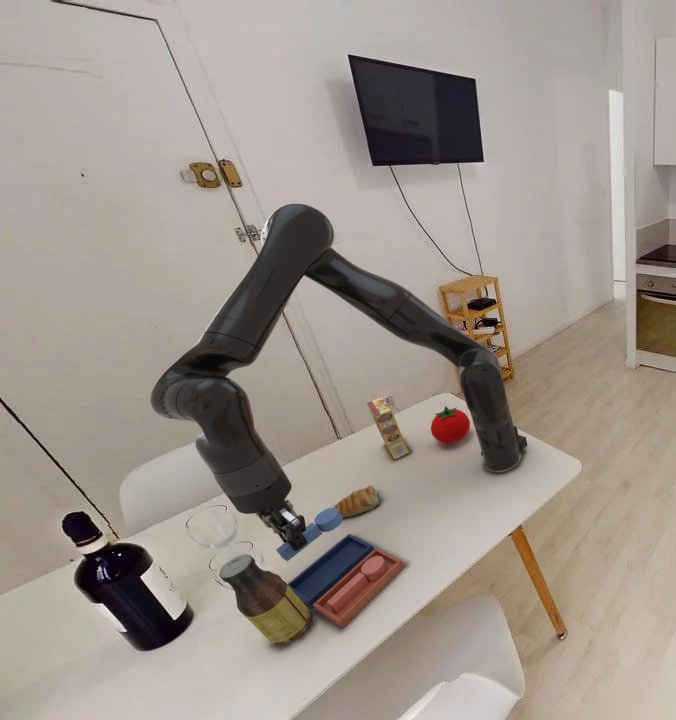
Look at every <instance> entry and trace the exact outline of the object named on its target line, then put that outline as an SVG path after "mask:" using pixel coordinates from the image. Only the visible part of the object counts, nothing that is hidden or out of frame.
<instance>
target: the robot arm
mask: <svg viewBox="0 0 676 720" xmlns="http://www.w3.org/2000/svg"><path fill="white" fill-rule="evenodd" d="M260 240H261V243H262V247H261V249H260V250H259V253H258V255H257V256H256V258H255V260H254V262H253V263H252V265H251V266H250V268H249V270H248V271H247V272H246V273H245V275H244V276H243V278H242V279H241V280H240V282H239V283H238V284H237V285H236V287H235V288H234V289H233V291H232V292H231V293H230V295H229V296H228V297H227V298H226V300H225V301H224V302H223V303H222V305H221V306H220V308H218V311H217V312H216V313H215V315H214V316H213V318H212V319H211V321H210V322H209V324H208V326H207V327H206V329H204V331H203V333H202V335H201V336H200V338H199V340H198V341H197V342H196V343H195V344H194V345H193V346H191V348H189V349H188V350H187V351H185V352H184V353H183V354H182V355H181V356H180V357H179V358H178V359H177V360H175V361H174V362H173V363H172V364H171V365H170V366H169V367H168V368H167V369H166V370H165V371H164V372H163V373H162V374H161V375H160V376H159V377H158V379H157V380H156V381H155V383H154V385H153V387H152V390H151V392H150V398H149V399H150V400H149V401H150V406H151V408H152V410H153V412H155V413H156V414H157V415H159V416H161V417H163V418H165V419H168V420H175V421H183V422H184V421H185V422H194V423H196V424H197V426H199V427H200V429H201V430H202V432H201V433H199V435H198V436H197V437H196V440H195V443H194V444H195V450H196V451H197V453H198V454H199V456H200V458H201V459H202V460H203V462H204V463H205V464H206V466H207V467H208V469H209V470H210V471H211V473H212V475H213V477H214V479H215V481H216V483H217V484H218V486H219V488H220V489H221V490H222V491H223V493H224V494H225V495H226V498H228V499H229V501H230V503H231V504H232V505H233V506H234V508H235V509H236V511H237V512H239V513H240V514H243V515H252V514H254V515H255V516H256V517H258V518H259V519H260V521H261V522H262V524H264V525H265V526H266V528H268V529H271V530H272V531H273V533H274V534H276V535H278V537H279V538H280V539H281V541H282V542H283V544H284V543H286V542H288V543H289V545H290V546H291V548H292V549H293V550H294V551H298V550H299V549H301V548H302V547H303V546H305V545H306V544H307V540H306V538H305V537H304V535H303V534H302V533H303V532H305V531H306V527H307V525H306V520H305V517H304V515H302V514H299V515H298V514H297V513H296V511H295V510H294V505H293V504H292V502H291V501H290V500H289V499H287V497H288V495H289V494H290V493H291V491H292V487H293V486H292V483H291V481H290V479H289V477H288V476H287V474H286V472H285V471H284V469H283V467H282V465H280V463H279V461H278V459H277V458H276V457H275V455H274V454H273V453H272V451H270V449H269V448H268V447H267V445H266V443H265V442H264V441H263V439H262V437H261V436H260V433H258V431H257V430H256V427H255V421H254V415H253V411H252V410H253V409H252V406H251V402H250V398H249V396H248V394H247V392H246V391H245V389H244V388H243V387H242V386H241V385H240V384H239V383H238V382H237V381H235V380H234V379H232V378H229V377H228V375H229V374H231V372H233V371H235V370H237V369H241V368H245V367H249V366H251V365H252V364H254V362H256V360H257V359H258V357H260V354H261V352H262V350H263V349H264V347H265V345H266V343H267V341H268V340H269V338H270V337H271V335H272V333H273V331H274V329H275V328H276V325H277V324H278V322H279V320H280V318H281V316H282V314H283V312H284V310H285V308H286V306H287V304H288V303H289V301H290V299H291V297H292V295H293V294H294V292H295V290H296V288H297V287H298V285H299V283H300V282H301V280H302V279H303V277H306V278H308V279H309V280H311V281H313V282H315V283H316V284H318V285H320V286H322V287H324V288H325V289H327V290H328V291H330V292H332V293H333V294H335V296H338V297H339V298H340V299H342V300H343V301H344V302H346V303H348V304H349V305H350V306H351V307H353V308H354V309H356V310H357V311H359V312H361V313H362V314H364V315H365V316H366V317H368V318H369V319H370V320H372V321H373V322H375V323H376V324H377V325H378V326H380V327H382V328H383V329H385V330H386V331H388V332H389V333H391V334H392V335H394V336H395V337H396V338H399V339H401V341H404V342H407V343H410V344H412V345H415V346H419V347H423V348H425V349H428V350H431V351H434V352H436V353H438V354H439V355H441V356H442V357H444V358H445V359H446V360H448V361H449V362H450V363H451V364H453V365H454V366H455V367H456V368H457V369H458V370H459V376H458V377H459V384H460V387H461V391H462V394H463V398H464V401H465V403H466V407H467V409H468V411H469V413H470V415H471V420H472V422H473V427H474V430H475V433H476V436H477V440H478V444H479V447H480V450H481V451H480V455H481V457H482V458H483V461H484V466H485V468H486V470H487V471H488V472H491V473H493V474H503V473H506V472H509V471H511V470H513V469H514V468H515V467H517V466H518V465H519V463H520V462H521V458H522V455H523V450H524V449H525V448H527V446H528V440H527V437H526V436H523V435H519V431H518V427H517V426H516V425H514V421H513V418H512V414H511V413H512V412H511V409H510V404H509V400H508V396H507V393H506V387H505V383H504V380H503V374H502V369H501V363H500V359H499V358H498V356H497V354H496V353H494V351H492V350H491V349H489V348H487V347H486V346H485V345H483V344H481V343H479V342H478V341H477V340H475V339H473V338H472V337H470V336H468V335H467V334H466V333H463V332H462V331H461V330H459V329H458V328H456V326H454V325H453V324H452V323H451V322H449V321H448V320H447V319H446V318H445V317H443V316H442V315H441V314H439V313H438V312H437V311H435V310H434V309H433V308H432V307H431V306H429V305H428V304H427V303H426V302H425V301H423V300H422V299H420V297H418V296H417V295H415V294H414V293H413V292H411V291H410V290H409V289H407V288H406V287H404V286H403V285H401V284H399V283H397V282H395V281H393V280H390V279H388V278H385V277H383V276H380V275H378V274H376V273H371V272H370V271H368V270H365V269H364V268H362V267H359V266H357V265H356V264H354V263H352V262H351V261H349V260H348V259H347V258H346V257H344V256H342V254H340V253H339V252H337V251H336V250H335V249H334V248H333V244H334V241H335V230H334V227H333V224H332V222H331V221H330V219H329V218H328V217H327V215H325V214H324V213H323V212H322V211H320V209H317V208H316V207H313V206H311V205H308V204H303V203H287V204H284V205H282V206H280V207H278V208H277V209H275V210H274V211H272V213H271V214H270V215H269V217H268V219H267V220H266V221H265V224H264V225H263V227H262V229H261V233H260Z"/></svg>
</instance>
